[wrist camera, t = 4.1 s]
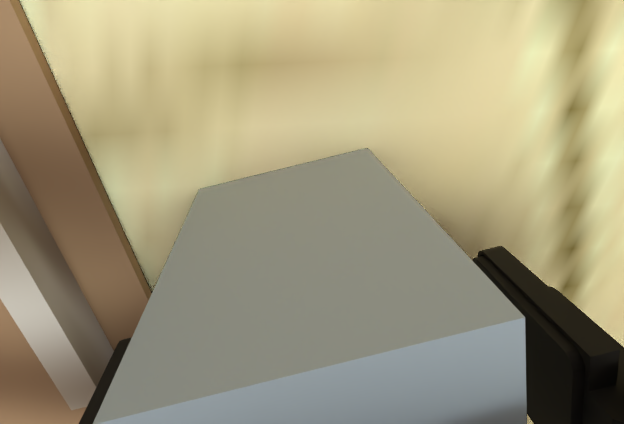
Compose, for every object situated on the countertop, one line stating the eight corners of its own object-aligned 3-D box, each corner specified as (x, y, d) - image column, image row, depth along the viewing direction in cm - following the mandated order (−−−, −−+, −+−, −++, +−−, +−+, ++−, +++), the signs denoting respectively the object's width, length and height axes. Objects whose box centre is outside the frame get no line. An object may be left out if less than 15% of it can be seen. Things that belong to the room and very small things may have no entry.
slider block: (402, 355, 15) (530, 652, 8) (270, 388, 15) (273, 717, 8) (367, 147, 12) (525, 317, 5) (199, 188, 12) (92, 424, 5)
